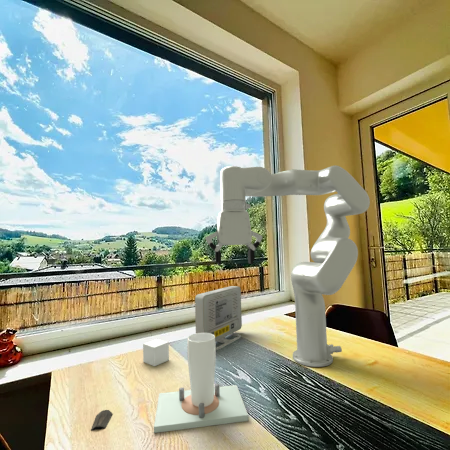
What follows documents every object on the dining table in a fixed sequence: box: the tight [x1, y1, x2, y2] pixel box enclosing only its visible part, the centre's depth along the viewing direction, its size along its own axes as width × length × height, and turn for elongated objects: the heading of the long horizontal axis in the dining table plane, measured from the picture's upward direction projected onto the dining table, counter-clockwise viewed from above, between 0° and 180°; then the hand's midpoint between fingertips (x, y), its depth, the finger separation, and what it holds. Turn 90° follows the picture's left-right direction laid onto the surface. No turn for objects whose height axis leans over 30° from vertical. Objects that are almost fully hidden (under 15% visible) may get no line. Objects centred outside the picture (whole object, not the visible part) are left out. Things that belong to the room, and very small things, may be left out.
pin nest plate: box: [153, 383, 249, 434], centre depth 65 cm, size 20×13×4 cm, turn 99°
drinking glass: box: [186, 332, 217, 407], centre depth 65 cm, size 7×7×15 cm
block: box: [90, 409, 114, 431], centre depth 61 cm, size 4×6×2 cm, turn 11°
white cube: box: [142, 338, 170, 367], centre depth 92 cm, size 6×6×6 cm
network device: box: [194, 285, 243, 351], centre depth 110 cm, size 26×9×20 cm, turn 144°
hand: (235, 264), depth 82 cm, fingers open, 9 cm apart
